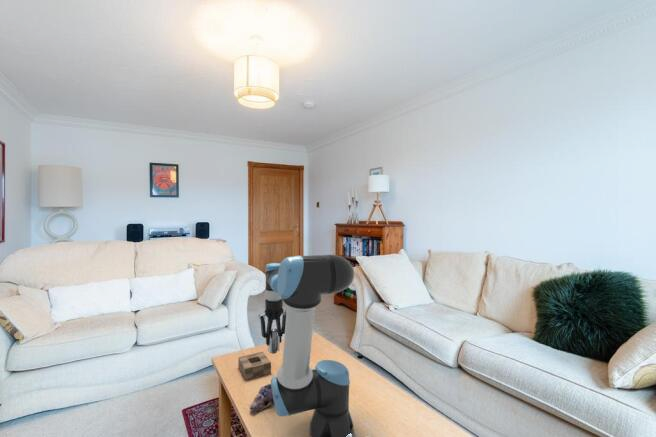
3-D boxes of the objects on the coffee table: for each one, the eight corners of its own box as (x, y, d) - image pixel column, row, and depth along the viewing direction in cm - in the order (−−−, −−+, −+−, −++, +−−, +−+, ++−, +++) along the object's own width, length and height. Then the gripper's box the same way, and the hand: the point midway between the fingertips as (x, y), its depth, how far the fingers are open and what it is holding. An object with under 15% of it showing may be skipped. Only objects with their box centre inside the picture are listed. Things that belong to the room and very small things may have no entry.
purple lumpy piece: (255, 417, 112) (255, 401, 112) (243, 408, 117) (243, 393, 117) (280, 401, 122) (280, 386, 122) (267, 393, 127) (267, 379, 126)
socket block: (270, 372, 142) (271, 362, 142) (245, 380, 136) (245, 369, 136) (262, 361, 152) (262, 351, 152) (238, 367, 146) (238, 357, 146)
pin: (278, 352, 135) (278, 330, 134) (271, 354, 133) (271, 331, 133) (275, 349, 137) (275, 328, 137) (269, 351, 136) (269, 329, 136)
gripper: (287, 294, 142) (287, 343, 143) (253, 298, 134) (253, 351, 135) (294, 298, 135) (293, 350, 136) (258, 303, 127) (258, 358, 128)
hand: (273, 350), depth 135 cm, fingers closed on pin, 3 cm apart
